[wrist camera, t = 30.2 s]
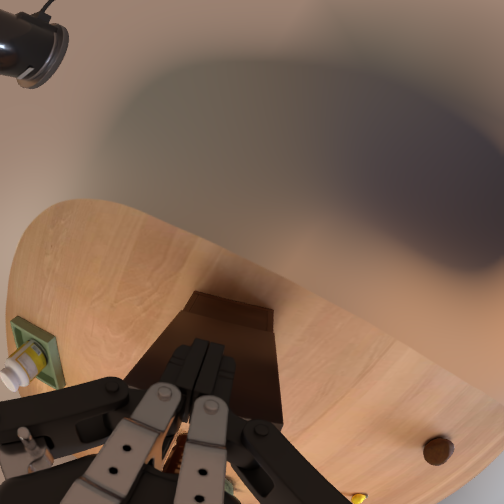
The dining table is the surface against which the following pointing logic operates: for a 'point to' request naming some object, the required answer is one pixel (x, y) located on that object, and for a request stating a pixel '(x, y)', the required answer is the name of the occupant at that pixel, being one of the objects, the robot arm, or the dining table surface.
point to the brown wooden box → (230, 311)
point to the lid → (236, 345)
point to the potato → (438, 451)
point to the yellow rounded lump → (358, 498)
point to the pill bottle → (24, 365)
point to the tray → (53, 369)
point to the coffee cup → (175, 456)
